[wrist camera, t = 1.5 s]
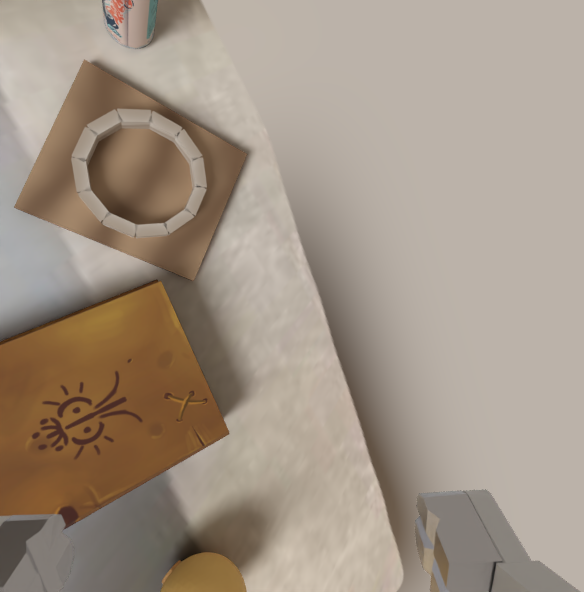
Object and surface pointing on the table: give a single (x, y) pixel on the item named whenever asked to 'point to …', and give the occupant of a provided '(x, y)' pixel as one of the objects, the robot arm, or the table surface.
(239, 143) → the table surface
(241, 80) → the table surface
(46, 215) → the socket board
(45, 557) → the robot arm
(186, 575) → the stress ball
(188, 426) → the diary
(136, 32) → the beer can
